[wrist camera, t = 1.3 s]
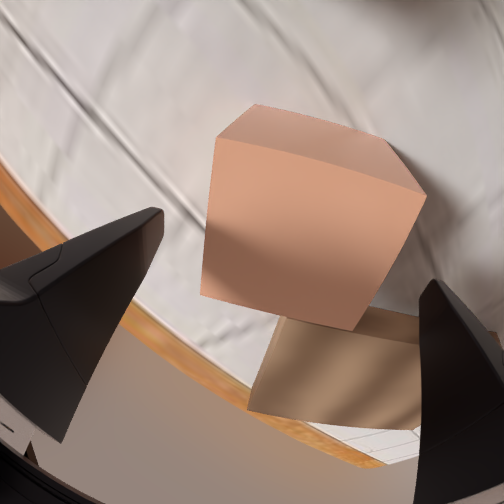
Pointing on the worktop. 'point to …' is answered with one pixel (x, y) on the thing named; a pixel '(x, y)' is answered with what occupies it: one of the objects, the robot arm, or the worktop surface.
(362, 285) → the terracotta cube
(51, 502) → the robot arm
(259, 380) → the walnut block
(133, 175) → the worktop surface
